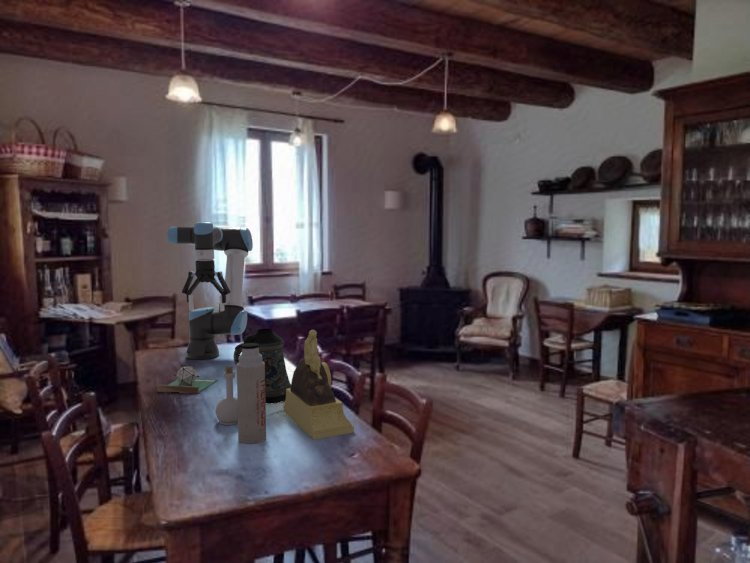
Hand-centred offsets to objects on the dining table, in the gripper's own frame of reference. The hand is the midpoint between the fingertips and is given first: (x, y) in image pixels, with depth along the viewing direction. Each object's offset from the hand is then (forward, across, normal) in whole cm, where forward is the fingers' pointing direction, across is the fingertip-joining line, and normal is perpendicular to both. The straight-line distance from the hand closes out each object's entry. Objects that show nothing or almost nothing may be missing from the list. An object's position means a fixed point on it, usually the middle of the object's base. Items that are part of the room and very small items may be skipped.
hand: (206, 310), depth 233 cm
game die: (+26, 0, -20) cm, 33 cm away
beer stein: (+26, +35, -30) cm, 53 cm away
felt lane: (+26, 0, -19) cm, 32 cm away
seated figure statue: (+26, +60, -51) cm, 83 cm away
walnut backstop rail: (+26, 0, -28) cm, 38 cm away
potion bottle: (+25, +32, -55) cm, 69 cm away
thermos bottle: (+25, +44, -68) cm, 85 cm away
